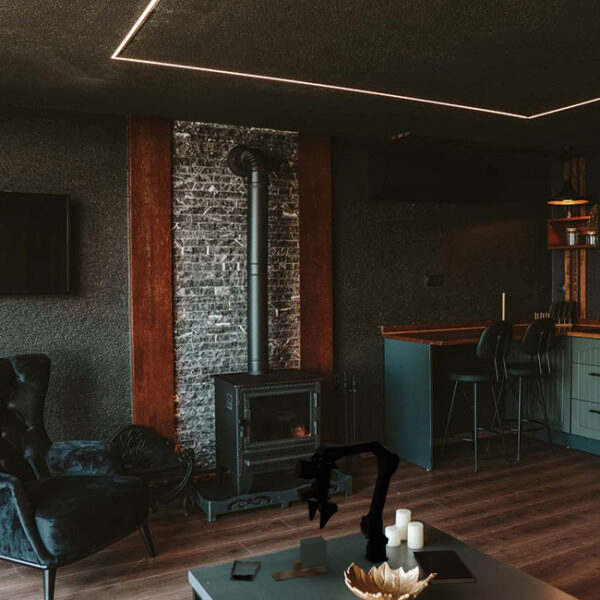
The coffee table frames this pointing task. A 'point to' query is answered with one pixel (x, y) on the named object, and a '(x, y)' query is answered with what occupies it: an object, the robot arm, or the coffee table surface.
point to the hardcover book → (444, 566)
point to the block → (313, 552)
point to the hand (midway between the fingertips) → (315, 524)
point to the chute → (299, 572)
